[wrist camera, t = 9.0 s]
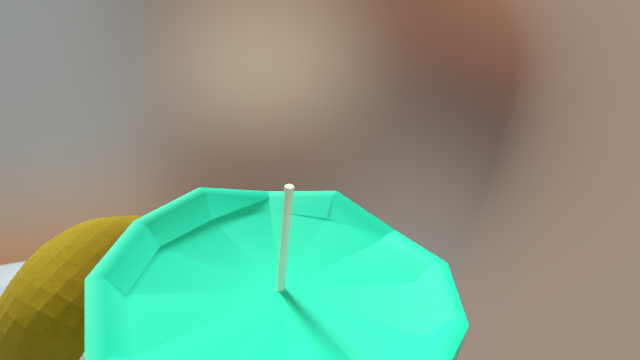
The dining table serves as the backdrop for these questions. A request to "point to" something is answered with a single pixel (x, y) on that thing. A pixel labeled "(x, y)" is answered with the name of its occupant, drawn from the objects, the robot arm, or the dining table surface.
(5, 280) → the dining table surface
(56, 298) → the lemon
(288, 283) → the candle
